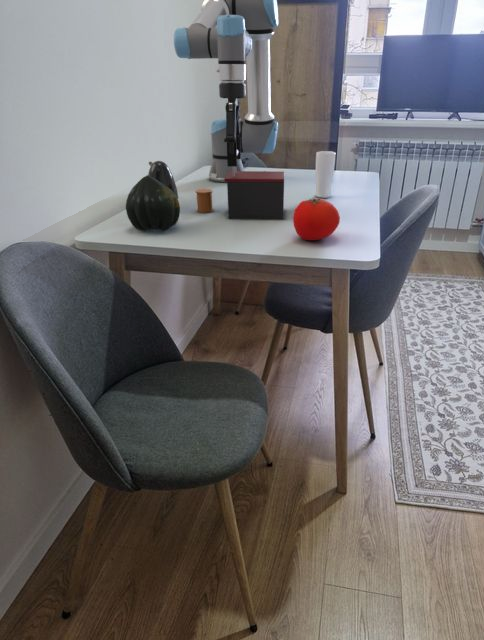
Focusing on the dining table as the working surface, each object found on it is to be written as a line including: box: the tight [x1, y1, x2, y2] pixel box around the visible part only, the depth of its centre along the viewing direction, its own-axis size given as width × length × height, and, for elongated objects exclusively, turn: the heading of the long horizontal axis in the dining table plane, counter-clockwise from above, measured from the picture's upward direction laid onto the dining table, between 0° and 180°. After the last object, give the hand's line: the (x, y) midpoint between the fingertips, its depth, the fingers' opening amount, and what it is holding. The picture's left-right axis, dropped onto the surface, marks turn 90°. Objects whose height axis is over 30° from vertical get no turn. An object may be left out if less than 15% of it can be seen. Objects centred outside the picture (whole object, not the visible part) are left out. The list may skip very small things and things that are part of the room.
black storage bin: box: [226, 181, 285, 220], centre depth 149 cm, size 17×12×11 cm
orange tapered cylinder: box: [195, 188, 214, 214], centre depth 153 cm, size 5×5×6 cm
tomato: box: [292, 197, 341, 241], centre depth 127 cm, size 13×12×11 cm
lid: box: [223, 150, 285, 183], centre depth 144 cm, size 18×12×8 cm
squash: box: [125, 174, 181, 232], centre depth 136 cm, size 14×15×15 cm
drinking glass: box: [315, 150, 336, 199], centre depth 169 cm, size 7×7×15 cm
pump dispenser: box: [147, 160, 179, 199], centre depth 152 cm, size 10×10×15 cm
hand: (234, 162), depth 144 cm, fingers open, 13 cm apart
